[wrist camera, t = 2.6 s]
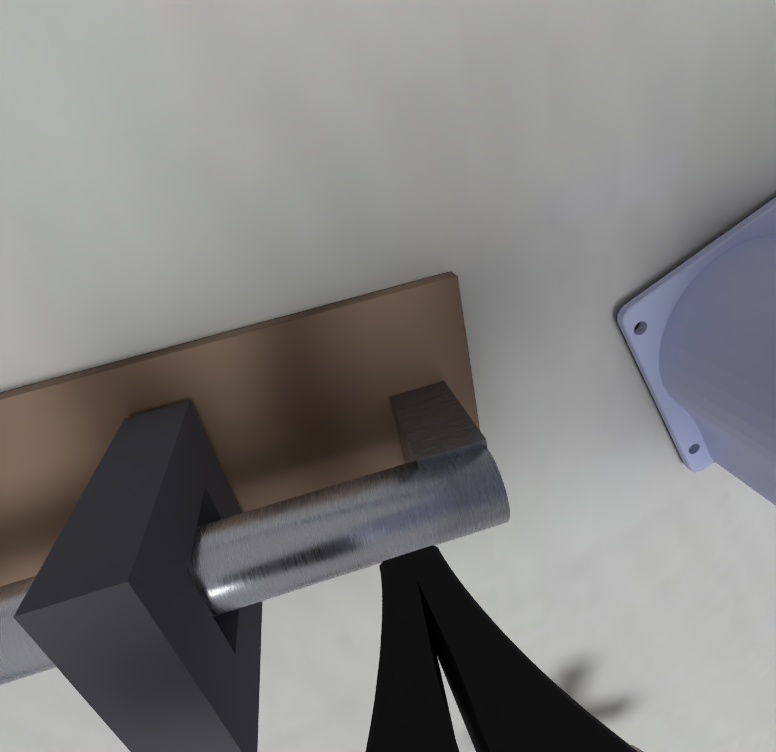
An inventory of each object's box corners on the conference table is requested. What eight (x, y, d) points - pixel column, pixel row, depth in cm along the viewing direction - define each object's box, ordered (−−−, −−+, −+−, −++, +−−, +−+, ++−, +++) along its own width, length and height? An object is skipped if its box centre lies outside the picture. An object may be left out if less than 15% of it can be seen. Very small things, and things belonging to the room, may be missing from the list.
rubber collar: (190, 400, 15) (127, 581, 9) (263, 558, 18) (256, 773, 12) (124, 418, 15) (13, 617, 9) (210, 575, 18) (175, 801, 12)
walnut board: (451, 271, 16) (457, 275, 15) (486, 501, 20) (491, 510, 20) (-356, 488, 14) (-381, 502, 13) (-115, 690, 18) (-127, 707, 18)
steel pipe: (444, 380, 17) (505, 466, 12) (456, 449, 18) (515, 550, 14) (-239, 578, 15) (-465, 767, 10) (-167, 639, 16) (-340, 830, 12)
